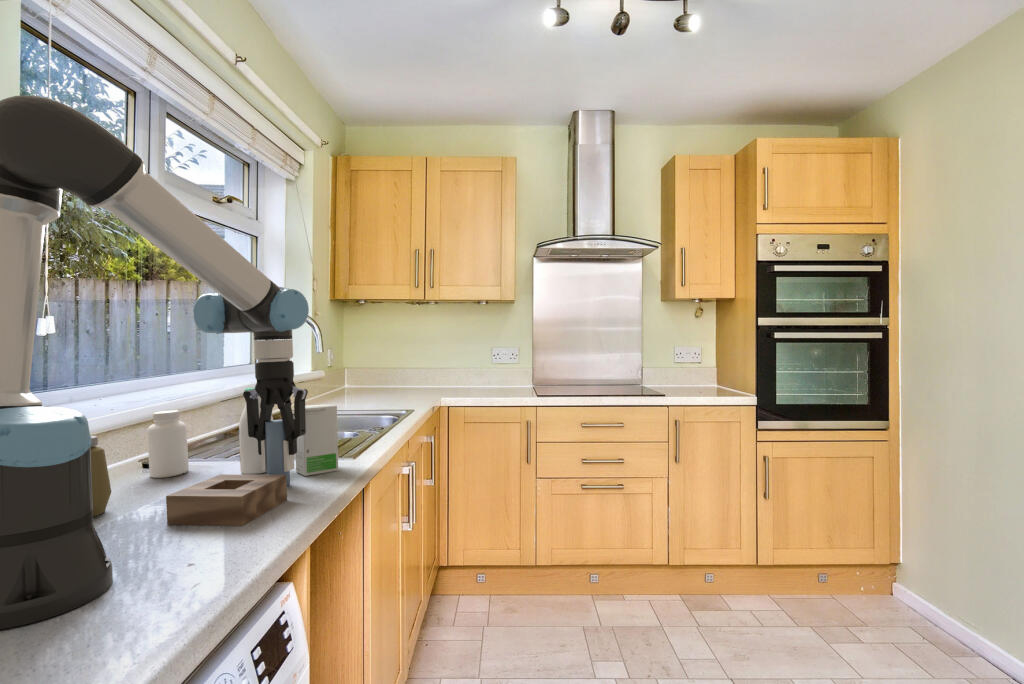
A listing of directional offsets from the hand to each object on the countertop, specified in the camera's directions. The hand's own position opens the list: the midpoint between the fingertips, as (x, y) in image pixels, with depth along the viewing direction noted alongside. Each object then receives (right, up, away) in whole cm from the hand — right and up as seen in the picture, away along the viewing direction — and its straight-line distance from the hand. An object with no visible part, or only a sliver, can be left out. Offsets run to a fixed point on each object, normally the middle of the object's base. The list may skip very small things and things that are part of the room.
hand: (278, 469), depth 115 cm
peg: (0, -4, 0) cm, 4 cm away
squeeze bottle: (-29, -5, -15) cm, 33 cm away
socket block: (-2, -4, -16) cm, 16 cm away
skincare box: (+4, -4, +13) cm, 14 cm away
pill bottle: (-32, -5, +14) cm, 36 cm away
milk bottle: (-11, -4, +15) cm, 19 cm away
